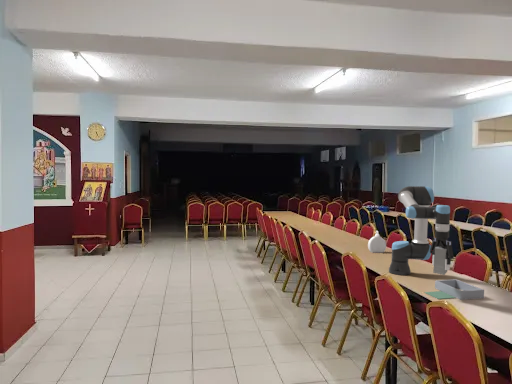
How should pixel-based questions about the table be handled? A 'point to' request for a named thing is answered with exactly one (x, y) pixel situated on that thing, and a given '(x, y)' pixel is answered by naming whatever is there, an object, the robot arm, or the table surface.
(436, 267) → the skincare box
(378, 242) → the soap bottle
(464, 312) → the table surface
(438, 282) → the parts bin
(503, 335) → the table surface
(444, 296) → the pad
